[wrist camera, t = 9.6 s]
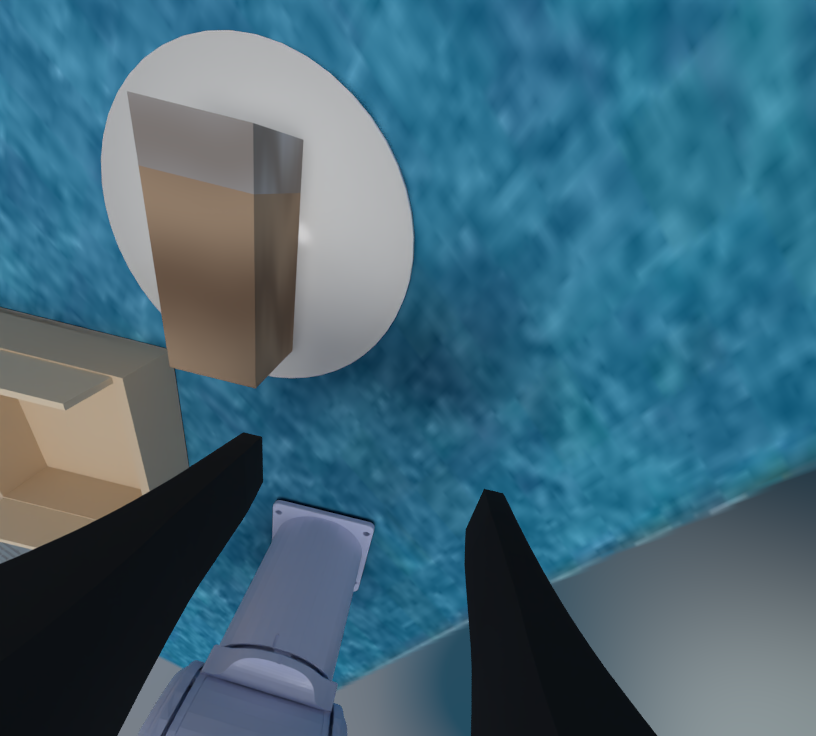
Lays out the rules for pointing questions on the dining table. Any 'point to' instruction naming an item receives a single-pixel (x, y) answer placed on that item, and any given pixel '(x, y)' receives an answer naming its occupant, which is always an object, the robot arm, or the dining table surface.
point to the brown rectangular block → (220, 236)
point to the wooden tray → (80, 426)
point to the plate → (320, 185)
